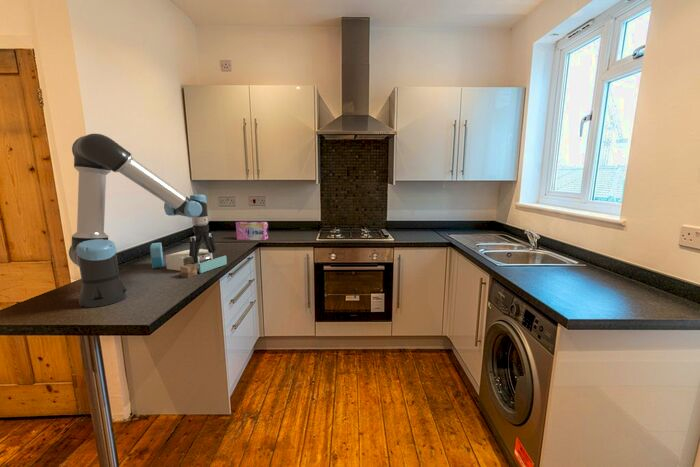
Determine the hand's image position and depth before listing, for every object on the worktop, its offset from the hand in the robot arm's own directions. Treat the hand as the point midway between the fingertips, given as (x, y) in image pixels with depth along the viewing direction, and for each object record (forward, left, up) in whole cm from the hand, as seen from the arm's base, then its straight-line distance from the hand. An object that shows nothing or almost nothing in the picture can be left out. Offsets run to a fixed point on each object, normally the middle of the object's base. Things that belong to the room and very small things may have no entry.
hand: (204, 266), depth 166 cm
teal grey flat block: (0, -1, 0) cm, 1 cm away
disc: (0, 0, +4) cm, 4 cm away
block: (-13, -4, -1) cm, 14 cm away
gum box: (+73, +28, -1) cm, 78 cm away
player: (0, +11, -1) cm, 11 cm away
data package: (-11, +22, +5) cm, 25 cm away
